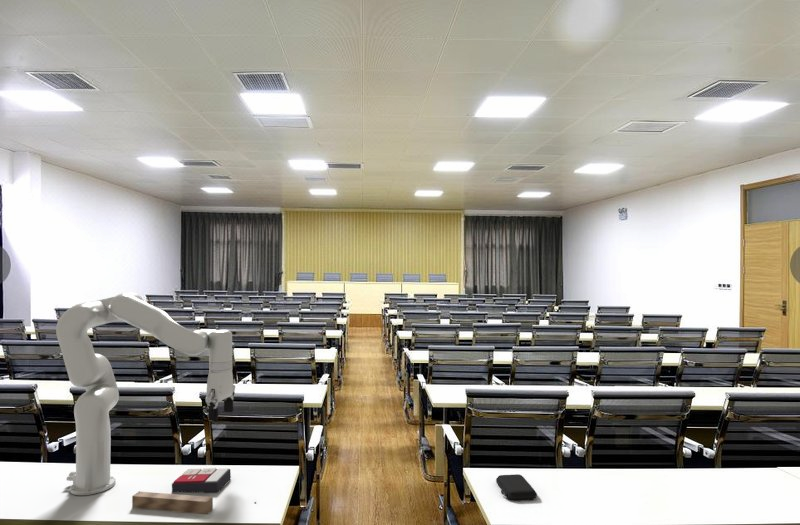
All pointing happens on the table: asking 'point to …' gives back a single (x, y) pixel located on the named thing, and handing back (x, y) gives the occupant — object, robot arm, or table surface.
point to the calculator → (202, 480)
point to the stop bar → (172, 502)
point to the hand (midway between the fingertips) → (221, 415)
